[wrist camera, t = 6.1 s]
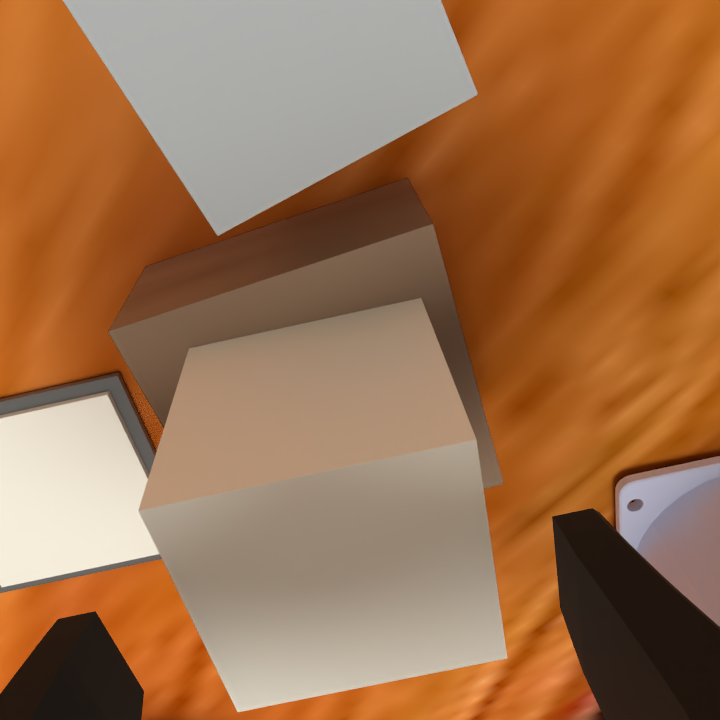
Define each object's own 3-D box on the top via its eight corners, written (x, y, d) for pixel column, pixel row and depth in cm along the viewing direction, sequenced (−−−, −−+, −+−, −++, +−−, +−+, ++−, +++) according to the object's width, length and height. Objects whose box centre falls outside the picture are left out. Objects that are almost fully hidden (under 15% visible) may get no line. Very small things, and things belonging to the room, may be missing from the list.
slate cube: (428, 64, 15) (478, 94, 11) (241, 169, 16) (218, 236, 12) (323, -185, 13) (331, -275, 8) (110, -47, 14) (20, -65, 9)
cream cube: (452, 479, 16) (507, 658, 12) (254, 520, 16) (237, 712, 12) (420, 297, 14) (476, 439, 9) (189, 348, 14) (138, 510, 10)
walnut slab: (468, 397, 20) (503, 483, 16) (251, 464, 20) (240, 560, 17) (405, 175, 17) (433, 224, 13) (147, 262, 17) (108, 331, 14)
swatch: (199, 546, 22) (197, 555, 21) (0, 588, 22) (-5, 598, 22) (119, 371, 18) (115, 379, 18) (-115, 424, 19) (-122, 432, 18)
